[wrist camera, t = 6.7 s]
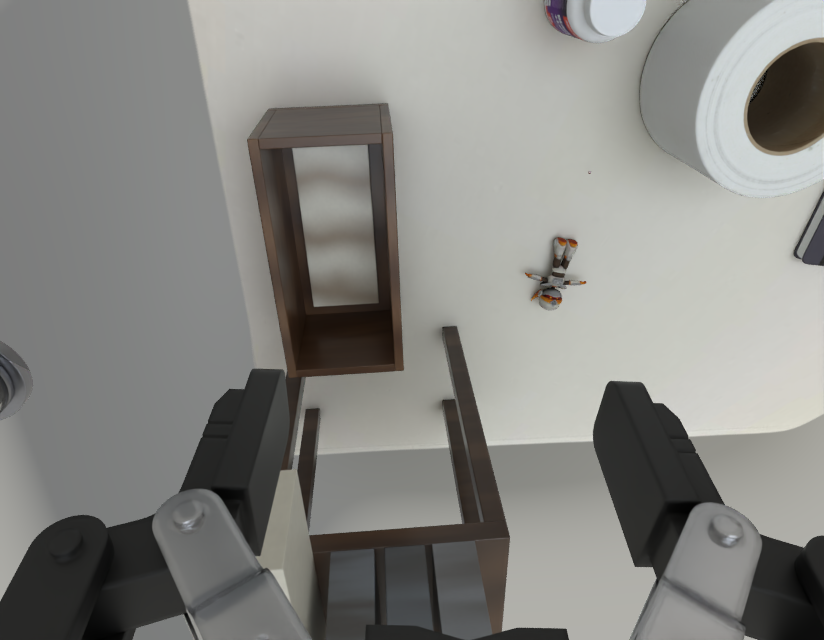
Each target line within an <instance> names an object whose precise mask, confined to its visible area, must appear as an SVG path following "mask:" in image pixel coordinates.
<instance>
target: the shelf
mask: <svg viewBox="0 0 824 640" xmlns="http://www.w3.org/2000/svg"><path fill="white" fill-rule="evenodd" d="M443 343H444V348H445V353H446V357H447V362H448V367H449V372H450V377H451V382H452V387H453V391H454V396H455V400H443V414H444V420H445V426H446V432H447V438H448V443H449V449H450V454H451V461H452V466H453V472H454V478H455V484H456V490H457V495H458V501H459V507H460V513H461V518H462V524H455V525H441V526H428V527H414V528H402V529H389V530H375V531H361V532H349V533H335V534H322V535H309V537H310V543H311V548H312V553H313V559H314V564H315V570H316V575H317V580H318V586H319V591H320V596H321V602H322V607H323V613H324V618H325V623H326V637H325V640H365V631H366V625H411V626H419V627H422V628H425V629H429V630H432V631H436V632H439V633H443V634H446V635H450V636H453V637H456V638H460V639H464V640H472V639H476V638H480V637H484V636H488V635H492V634H496V633H499V632H502V622H503V611H504V599H505V587H506V577H507V576H506V575H507V565H508V555H509V554H508V553H509V543H510V536H509V531H508V527H507V524H506V519H505V516H504V512H503V508H502V504H501V500H500V496H499V492H498V488H497V484H496V480H495V476H494V472H493V468H492V464H491V460H490V456H489V452H488V449H487V444H486V440H485V436H484V432H483V428H482V424H481V420H480V416H479V412H478V409H477V405H476V401H475V397H474V393H473V389H472V385H471V381H470V377H469V373H468V369H467V365H466V361H465V357H464V353H463V349H462V345H461V341H460V337H459V333H458V329H457V327H443ZM305 378H306V377H294V378H289V376H288V371H287V375H286V388H287V397H288V406H289V417H290V423H289V435H288V440H287V445H286V449H285V453H284V458H283V462H282V466H281V470H292V464H293V458H294V451H295V445H296V438H297V431H298V425H299V418H300V411H301V405H302V398H303V391H304V385H305ZM320 420H321V418H320V411H319V409H306V412H305V419H304V426H303V434H302V441H301V448H300V455H299V463H298V470H297V472H298V478H299V483H300V489H301V494H302V499H303V505H304V510H305V516H306V521H307V526H308V532H309V527H310V518H311V508H312V498H313V488H314V478H315V469H316V459H317V449H318V440H319V430H320ZM281 470H280V471H281Z"/></svg>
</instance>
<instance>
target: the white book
mask: <svg viewBox="0 0 824 640" xmlns="http://www.w3.org/2000/svg"><path fill="white" fill-rule="evenodd" d="M255 557H256V558H257V560H258V562H259V564H260V565H261V566H262V568H263V569H265V568H268V569H269V570H270V571H271V572H272V574H273V575H274V577H275V578H276V580H277V581H278V583H279V585H280V586H281V588H282V590H283V591H284V593H285V595H286V596H287V598H288V600H289V602H290V603H291V605H292V607H293V608H294V610H295V612H296V613H297V615H298V617H299V618H300V620H301V622H302V623H303V625H304V627H305V628H306V630H307V632H308V633H309V635H310V637H311V638H312V640H325V637H326V623H325V618H324V613H323V607H322V602H321V596H320V591H319V586H318V580H317V575H316V570H315V564H314V559H313V553H312V548H311V543H310V537H309V532H308V526H307V521H306V516H305V510H304V505H303V499H302V494H301V489H300V483H299V478H298V472H297V470H296V469H295V470H281V471H280V475H279V479H278V483H277V487H276V492H275V496H274V500H273V505H272V509H271V513H270V517H269V522H268V526H267V530H266V534H265V539H264V543H263V547H262V551H261V556H255Z"/></svg>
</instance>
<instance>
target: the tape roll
mask: <svg viewBox="0 0 824 640" xmlns="http://www.w3.org/2000/svg"><path fill="white" fill-rule="evenodd" d="M767 69H768V72H767V76H766V79H765V82H764V84H763V86H762V88H761V90H760V92H759V94H758V95H757V96H756V98H755V99H754V100H753V101H752V102H751V103H750V104H749V102H750V98H751V95H752V93H753V90H754V88H755V86H756V84H757V83H758V81H759V80H760V78H761V77H762V75H763V74H764V73H765V71H766V70H767ZM640 108H641V114H642V118H643V121H644V124H645V126H646V128H647V131H648V132H649V134H650V136H651V137H652V138H653V140H654V141H655V142H656V143H657V145H658V146H660V147H661V148H662V149H663V150H664V151H666V152H667V153H669V154H671V155H672V156H674V157H676V158H677V159H679V160H680V161H682V162H684V163H685V164H687V165H688V166H690V167H692V168H693V169H695V170H697V171H698V172H700V173H701V174H703V175H705V176H706V177H708V178H710V179H711V180H713V181H714V182H716V183H718V184H719V185H721V186H722V187H724V188H726V189H727V190H729V191H731V192H734V193H736V194H739V195H743V196H748V197H755V198H770V197H777V196H783V195H787V194H791V193H794V192H797V191H800V190H802V189H804V188H807V187H809V186H811V185H813V184H815V183H817V182H819V181H821V180H822V179H824V0H689V1H688V2H687V3H685V4H684V5H683V6H682V7H681V8H680V9H679V10H678V11H677V12H676V13H675V14H674V15H673V16H672V17H671V19H670V20H669V21H668V22H667V24H666V25H665V26H664V28H663V29H662V30H661V32H660V34H659V35H658V37H657V38H656V40H655V42H654V44H653V46H652V48H651V50H650V53H649V55H648V58H647V60H646V63H645V66H644V70H643V74H642V78H641V86H640Z"/></svg>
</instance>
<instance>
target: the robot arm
mask: <svg viewBox="0 0 824 640" xmlns="http://www.w3.org/2000/svg"><path fill="white" fill-rule="evenodd" d="M13 393H14V388H13V384H12V381H11V379H10V377H9V375H8V374H7V372H6V371H5V370H4V369H3V368H2V367H1V366H0V413H1V412H2V411H3V410H4V409H5V408H6V407H7V406H8V404H9V403H10V402H11V400H12V398H13ZM289 423H290V417H289V406H288V397H287V388H286V379H285V372H284V370H279V369H252V371H251V373H250V375H249V378H248V381H247V384H246V387H245V389H229V390H228V391H227V392H226V393H225V394H224V395H223V396H222V397H221V398H220V399H219V400H218V401H217V402H216V403H215V405H214V407H213V409H212V412H211V415H210V417H209V420H208V424H207V425H206V427H205V430H204V432H203V437H202V438H201V440H200V442H199V445H198V447H197V450H196V452H195V455H194V457H193V460H192V462H191V465H190V467H189V470H188V473H187V475H186V477H185V480H184V482H183V485H182V487H181V489H180V491H179V493H178V494H176V495H174V496H172V497H171V498H169V499H168V500H167V501H165V502H164V503H163V504H162V505H161V507H160V508H159V509H158V510H157V512H156V513H155V514H154V515H152V516H149V517H147V518H144V519H140V520H137V521H133V522H129V523H125V524H121V525H117V526H113V527H109V528H106V526H105V524H104V523H103V522H102V521H101V520H99V519H98V518H96V517H93V516H89V515H78V516H72V517H68V518H65V519H62V520H60V521H58V522H56V523H54V524H52V525H50V526H49V527H47V528H46V529H45V530H43V531H42V532H41V533H40V534H39V535H38V536H37V537H36V539H34V541H33V542H32V544H31V545H30V547H29V548H28V550H27V552H26V554H25V556H24V558H23V560H22V562H21V563H20V565H19V567H18V569H17V571H16V573H15V575H14V577H13V579H12V580H11V583H10V584H9V586H8V588H7V590H6V592H5V594H4V595H3V597H2V599H1V601H0V640H132V639H133V636H134V633H135V630H136V628H138V627H141V626H144V625H148V624H151V623H154V622H158V621H161V620H164V619H167V618H171V617H174V616H178V615H181V614H183V616H184V619H185V621H186V623H187V625H188V628H189V630H190V632H191V635H192V637H193V639H194V640H312V638H311V637H310V635H309V633H308V632H307V630H306V628H305V627H304V625H303V623H302V622H301V620H300V618H299V617H298V615H297V613H296V612H295V610H294V608H293V607H292V605H291V603H290V602H289V600H288V598H287V596H286V595H285V593H284V591H283V590H282V588H281V586H280V585H279V583H278V581H277V580H276V578H275V577H274V575H273V574H272V572H271V571H270V570H269V569H268V568H265V569H263V568H262V566H261V565H260V564H259V562H258V560H257V558H256V557H255V556H261V551H262V547H263V543H264V539H265V534H266V530H267V526H268V522H269V517H270V513H271V509H272V505H273V500H274V496H275V492H276V487H277V483H278V479H279V475H280V470H281V466H282V462H283V458H284V453H285V449H286V445H287V440H288V435H289ZM593 442H594V448H595V451H596V454H597V457H598V460H599V463H600V466H601V469H602V472H603V475H604V478H605V480H606V483H607V486H608V489H609V492H610V495H611V498H612V501H613V504H614V507H615V510H616V513H617V515H618V519H619V521H620V524H621V527H622V530H623V533H624V536H625V539H626V542H627V545H628V548H629V551H630V553H631V557H632V559H633V563H634V565H635V567H653V569H654V572H655V574H656V577H657V579H656V581H655V583H654V585H653V587H652V589H651V591H650V594H649V596H648V598H647V600H646V603H645V605H644V607H643V610H642V612H641V614H640V616H639V619H638V621H637V623H636V625H635V628H634V630H633V632H632V635H631V637H630V639H629V640H743V639H744V635H745V636H749V637H751V638H755V639H757V640H824V536H817V537H814V538H812V539H811V540H810V541H809V542H808V543H807V545H806V546H805V547H804V548H803V547H799V546H796V545H793V544H789V543H786V542H782V541H779V540H776V539H773V538H769V537H766V536H764V535H761V534H759V532H758V530H757V529H756V527H755V526H754V525H753V524H752V523H751V521H750V520H749V519H747V518H746V517H745V516H744V515H743V514H741V513H740V512H738V511H736V510H735V509H733V508H731V507H728V506H726V505H725V504H724V502H723V501H722V499H721V497H720V495H719V493H718V491H717V489H716V487H715V486H714V484H713V482H712V480H711V478H710V476H709V474H708V472H707V470H706V468H705V467H704V465H703V463H702V461H701V459H700V457H699V455H698V454H697V453H695V451H696V450H695V448H694V446H693V444H692V442H691V440H690V439H688V434H687V432H686V431H685V429H684V427H683V425H682V423H681V421H680V419H679V418H678V417H677V416H676V415H675V414H674V413H673V412H671V411H670V410H669V409H668V408H667V407H666V406H665V405H664V404H662V403H653V402H652V400H651V398H650V396H649V394H648V392H647V390H646V388H645V386H644V384H643V383H641V382H623V381H610V382H609V383H608V384H607V386H606V389H605V392H604V395H603V398H602V401H601V405H600V408H599V411H598V414H597V417H596V420H595V424H594V429H593ZM365 640H464V639H460V638H456V637H453V636H450V635H446V634H443V633H439V632H436V631H432V630H429V629H425V628H422V627H419V626H411V625H366V631H365ZM472 640H569V638H568V634H567V629H554V628H553V629H552V628H515V629H511V630H507V631H503V632H499V633H496V634H492V635H488V636H484V637H480V638H476V639H472Z"/></svg>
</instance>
